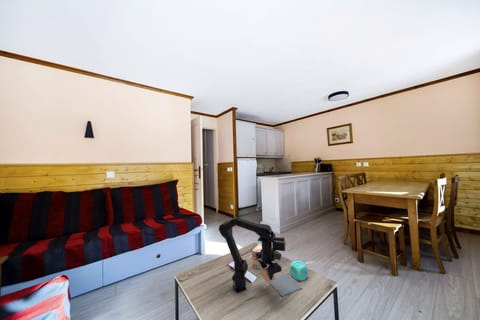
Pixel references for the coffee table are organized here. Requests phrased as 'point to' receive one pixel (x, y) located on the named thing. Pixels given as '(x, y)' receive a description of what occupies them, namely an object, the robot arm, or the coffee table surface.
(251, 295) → the coffee table surface
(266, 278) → the terracotta cube
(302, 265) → the decorative dice
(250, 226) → the robot arm
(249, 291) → the coffee table surface
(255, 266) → the stack of blocks
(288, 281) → the slate mat
